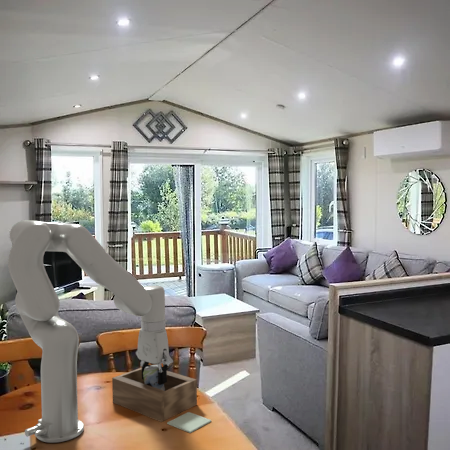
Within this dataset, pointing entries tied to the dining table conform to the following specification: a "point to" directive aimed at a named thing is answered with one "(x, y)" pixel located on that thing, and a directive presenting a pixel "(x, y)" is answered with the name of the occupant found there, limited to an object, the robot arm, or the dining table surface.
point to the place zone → (189, 422)
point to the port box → (154, 394)
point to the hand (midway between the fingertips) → (154, 380)
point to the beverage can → (152, 377)
